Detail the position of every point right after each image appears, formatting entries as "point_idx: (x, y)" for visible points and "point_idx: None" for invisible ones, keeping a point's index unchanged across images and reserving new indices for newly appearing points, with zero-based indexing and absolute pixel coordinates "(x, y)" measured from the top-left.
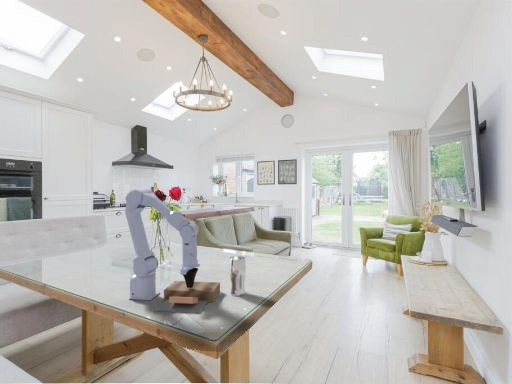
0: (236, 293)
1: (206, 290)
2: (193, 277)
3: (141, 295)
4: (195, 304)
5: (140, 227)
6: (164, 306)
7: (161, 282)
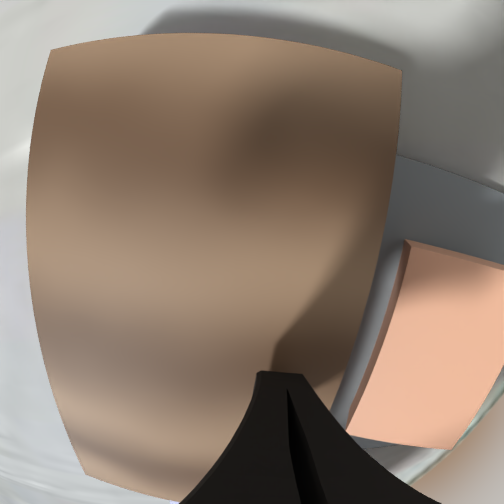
0: None
1: (353, 154)
2: (368, 477)
3: None
4: None
5: None
6: None
7: (47, 465)
